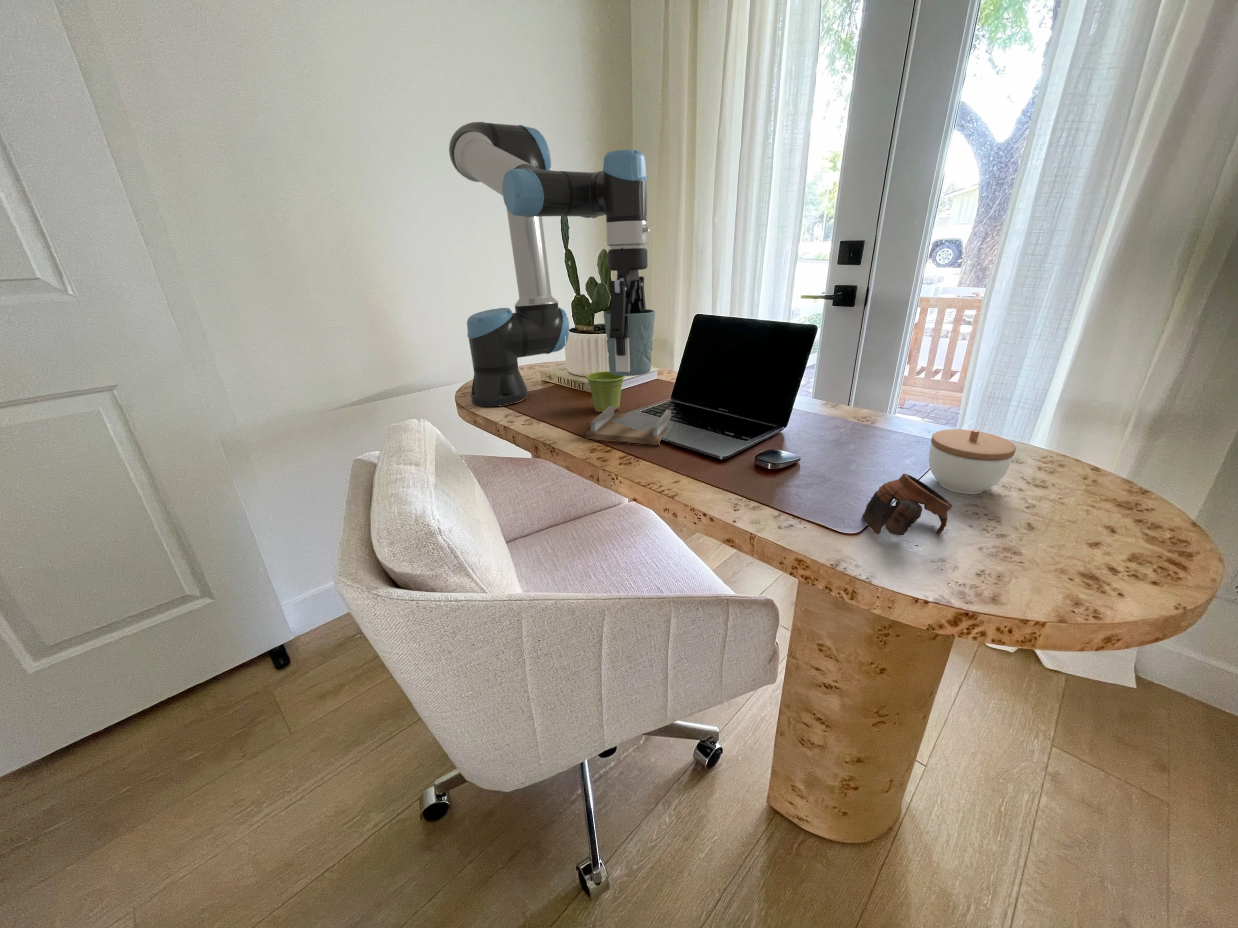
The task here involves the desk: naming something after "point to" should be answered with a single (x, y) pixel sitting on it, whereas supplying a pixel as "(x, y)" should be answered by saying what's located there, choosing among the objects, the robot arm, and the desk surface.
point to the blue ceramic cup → (634, 342)
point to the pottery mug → (904, 505)
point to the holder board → (626, 429)
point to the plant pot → (605, 389)
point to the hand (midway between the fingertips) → (630, 365)
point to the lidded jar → (969, 459)
